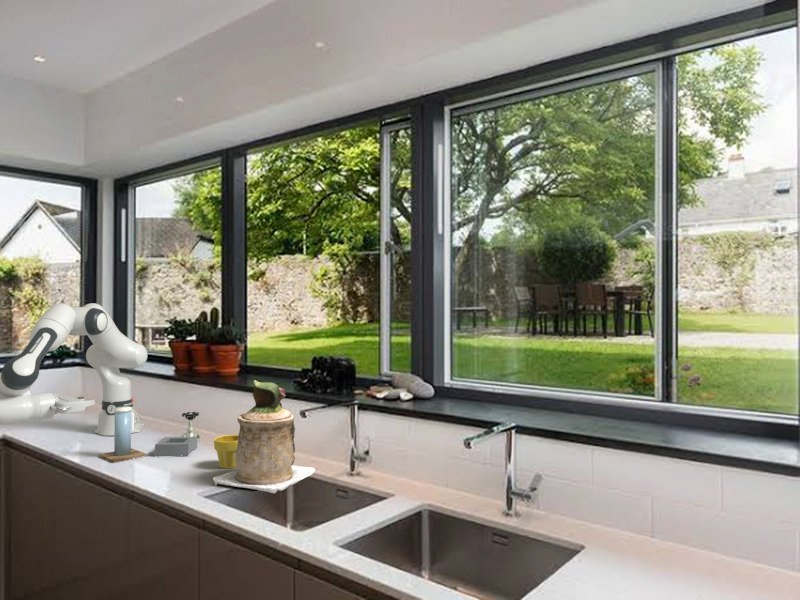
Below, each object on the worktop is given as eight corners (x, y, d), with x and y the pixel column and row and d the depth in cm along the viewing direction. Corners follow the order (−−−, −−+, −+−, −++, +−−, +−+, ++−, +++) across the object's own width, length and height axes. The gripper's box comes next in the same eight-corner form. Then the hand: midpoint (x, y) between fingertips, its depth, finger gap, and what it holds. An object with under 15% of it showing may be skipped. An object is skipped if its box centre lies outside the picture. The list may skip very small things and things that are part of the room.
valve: (193, 445, 238) (193, 415, 238) (178, 444, 240) (178, 414, 240) (202, 441, 245) (202, 412, 245) (187, 440, 246) (187, 411, 246)
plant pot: (209, 470, 204) (209, 441, 204) (220, 461, 214) (220, 434, 214) (239, 470, 203) (239, 441, 203) (248, 462, 214) (248, 434, 214)
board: (98, 457, 220) (98, 454, 220) (131, 450, 229) (131, 448, 229) (113, 463, 212) (113, 460, 212) (146, 456, 222) (146, 453, 221)
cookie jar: (278, 495, 178) (278, 387, 178) (209, 486, 187) (209, 383, 187) (317, 472, 201) (317, 377, 201) (255, 465, 210) (255, 374, 210)
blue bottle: (117, 451, 224) (117, 406, 223) (133, 451, 224) (133, 406, 224) (111, 456, 218) (111, 409, 217) (127, 456, 218) (128, 409, 218)
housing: (165, 448, 233) (165, 437, 233) (197, 448, 234) (197, 436, 234) (155, 456, 221) (155, 444, 221) (188, 456, 222) (188, 444, 222)
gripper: (56, 400, 195) (100, 394, 205) (34, 393, 208) (76, 388, 218) (56, 419, 195) (100, 413, 205) (34, 411, 208) (77, 405, 219)
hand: (88, 400), depth 212 cm, fingers open, 8 cm apart
